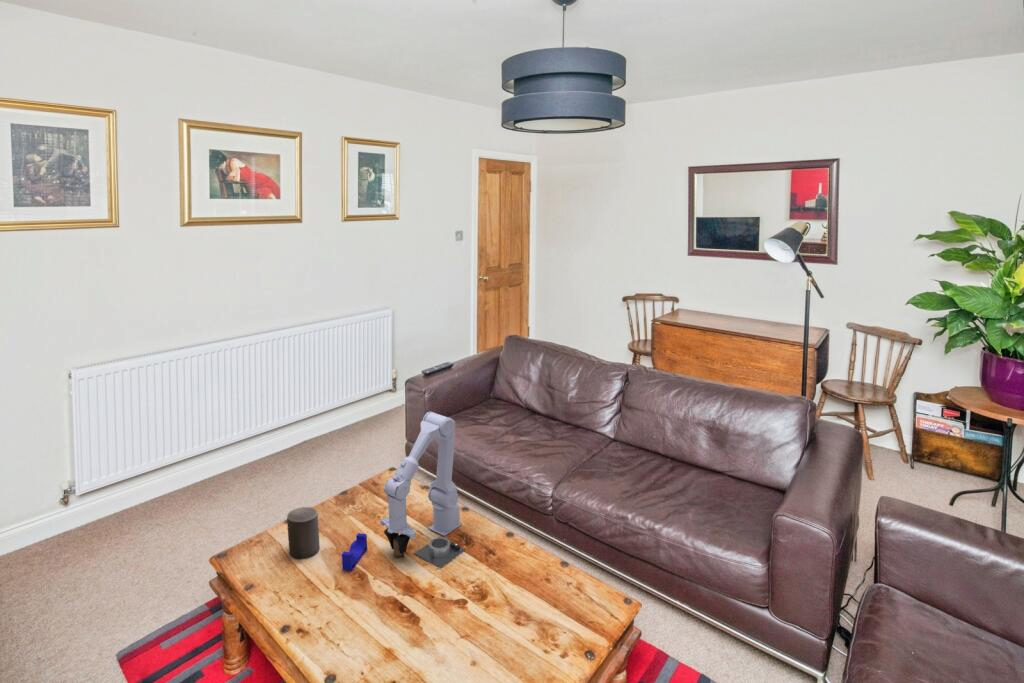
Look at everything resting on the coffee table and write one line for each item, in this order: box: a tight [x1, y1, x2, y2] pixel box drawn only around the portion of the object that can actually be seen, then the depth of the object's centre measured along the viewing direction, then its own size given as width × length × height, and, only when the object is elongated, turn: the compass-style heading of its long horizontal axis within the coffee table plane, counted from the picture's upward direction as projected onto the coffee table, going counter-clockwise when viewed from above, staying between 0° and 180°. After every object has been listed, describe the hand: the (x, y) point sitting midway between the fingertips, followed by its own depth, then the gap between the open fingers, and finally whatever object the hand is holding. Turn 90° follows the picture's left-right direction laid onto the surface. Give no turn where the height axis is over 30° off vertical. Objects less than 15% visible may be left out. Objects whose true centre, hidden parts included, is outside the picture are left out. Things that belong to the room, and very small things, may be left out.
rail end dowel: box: [393, 537, 405, 559], centre depth 195 cm, size 4×4×6 cm
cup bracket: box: [413, 535, 466, 569], centre depth 197 cm, size 12×12×4 cm
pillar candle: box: [286, 506, 321, 560], centre depth 196 cm, size 10×10×15 cm
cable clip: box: [341, 532, 368, 572], centre depth 193 cm, size 12×4×6 cm, turn 169°
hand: (398, 550), depth 196 cm, fingers closed on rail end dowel, 3 cm apart
